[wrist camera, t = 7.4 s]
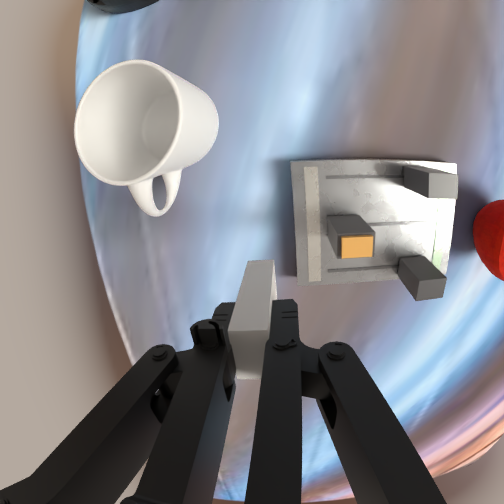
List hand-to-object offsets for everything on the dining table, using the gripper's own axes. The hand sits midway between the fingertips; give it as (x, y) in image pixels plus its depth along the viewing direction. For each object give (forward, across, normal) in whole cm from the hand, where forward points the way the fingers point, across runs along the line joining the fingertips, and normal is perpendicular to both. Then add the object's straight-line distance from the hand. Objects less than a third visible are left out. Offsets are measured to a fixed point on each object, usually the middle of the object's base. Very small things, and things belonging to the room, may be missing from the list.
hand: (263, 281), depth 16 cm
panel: (+12, +11, 0) cm, 16 cm away
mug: (+12, -8, +9) cm, 17 cm away
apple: (+12, +26, -1) cm, 29 cm away
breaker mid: (+10, +7, 0) cm, 12 cm away
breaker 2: (+10, +14, -4) cm, 18 cm away
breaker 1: (+10, +14, +4) cm, 18 cm away
